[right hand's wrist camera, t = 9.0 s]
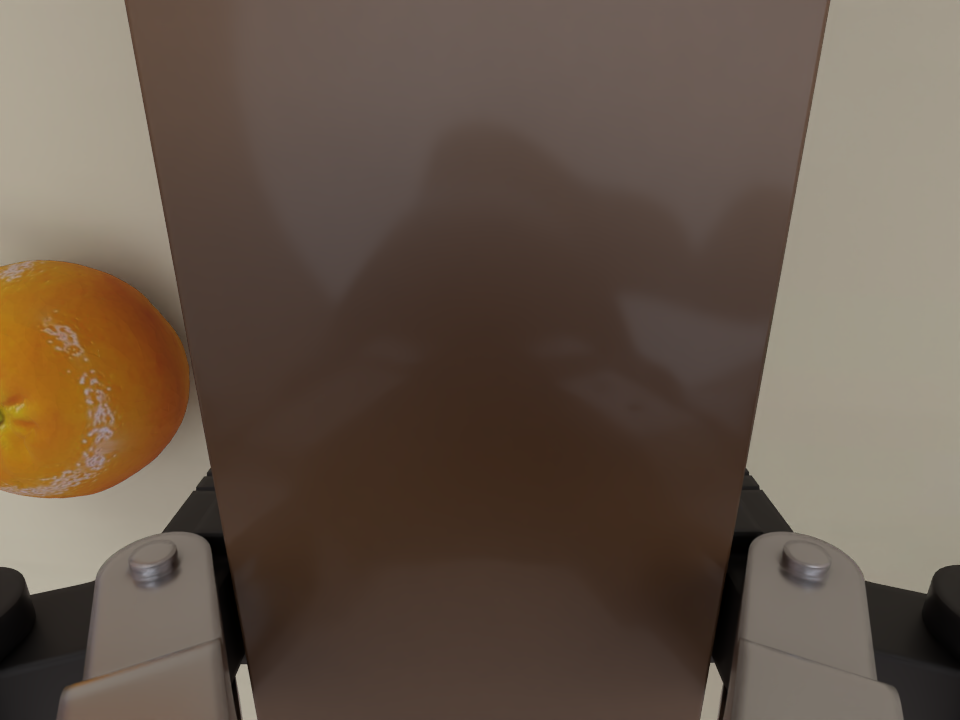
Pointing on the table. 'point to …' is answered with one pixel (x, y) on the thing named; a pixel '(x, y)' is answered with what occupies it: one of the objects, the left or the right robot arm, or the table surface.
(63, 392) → the fruit
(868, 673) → the right robot arm
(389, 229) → the box
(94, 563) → the table surface
